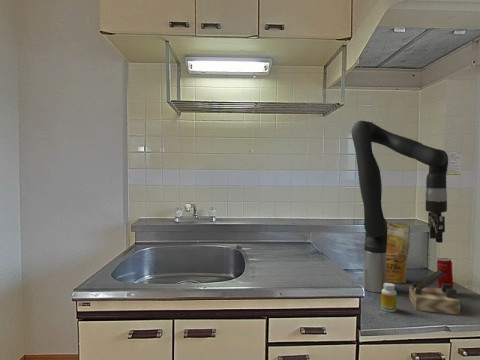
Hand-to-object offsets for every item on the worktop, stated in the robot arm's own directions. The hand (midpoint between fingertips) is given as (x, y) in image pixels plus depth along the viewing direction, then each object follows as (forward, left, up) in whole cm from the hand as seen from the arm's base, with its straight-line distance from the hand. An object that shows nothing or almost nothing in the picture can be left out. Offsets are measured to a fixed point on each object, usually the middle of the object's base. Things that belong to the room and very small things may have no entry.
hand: (436, 240), depth 144 cm
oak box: (-1, -2, -26) cm, 26 cm away
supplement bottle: (-18, -11, -26) cm, 34 cm away
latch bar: (-2, -2, -17) cm, 17 cm away
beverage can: (+8, +15, -26) cm, 31 cm away
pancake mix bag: (-14, +27, -26) cm, 40 cm away
